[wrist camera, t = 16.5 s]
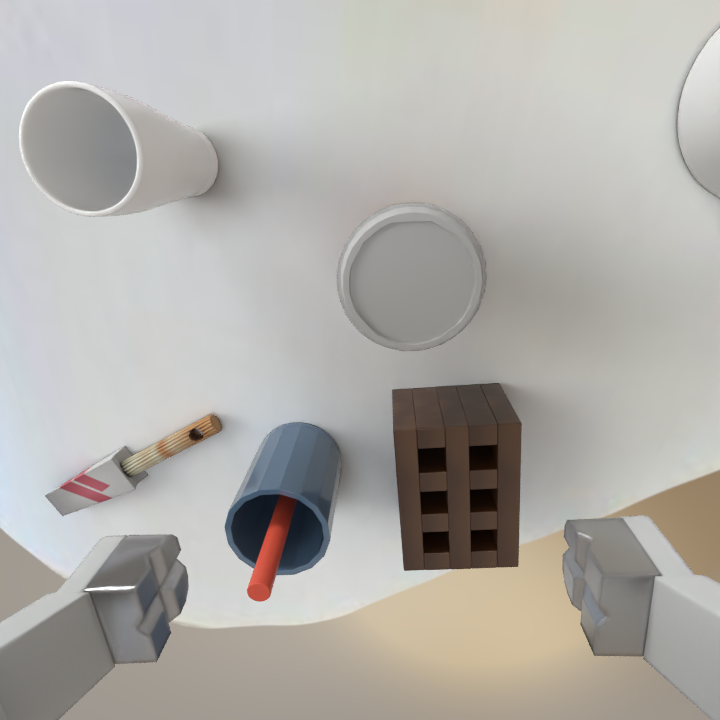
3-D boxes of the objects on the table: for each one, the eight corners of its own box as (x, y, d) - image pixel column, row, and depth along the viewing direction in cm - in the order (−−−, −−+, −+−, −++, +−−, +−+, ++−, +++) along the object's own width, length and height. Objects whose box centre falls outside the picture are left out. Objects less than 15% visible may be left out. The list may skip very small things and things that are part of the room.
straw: (305, 456, 48) (268, 582, 33) (307, 470, 48) (272, 601, 33) (289, 457, 48) (245, 583, 33) (291, 471, 48) (248, 602, 33)
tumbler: (336, 419, 47) (322, 486, 37) (345, 492, 50) (334, 573, 40) (253, 424, 48) (216, 491, 37) (266, 496, 51) (235, 576, 40)
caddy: (499, 382, 45) (521, 423, 37) (498, 508, 50) (518, 567, 42) (392, 389, 46) (393, 430, 38) (401, 513, 50) (403, 571, 43)
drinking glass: (216, 218, 41) (128, 237, 27) (138, 187, 41) (7, 190, 27) (239, 136, 39) (156, 110, 25) (157, 102, 38) (24, 55, 24)
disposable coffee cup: (483, 232, 41) (521, 252, 29) (425, 330, 44) (438, 381, 32) (382, 175, 39) (381, 172, 28) (329, 279, 43) (309, 314, 31)
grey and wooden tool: (31, 499, 48) (200, 413, 45) (48, 484, 51) (209, 401, 48) (56, 529, 49) (223, 446, 46) (72, 512, 52) (231, 433, 49)
